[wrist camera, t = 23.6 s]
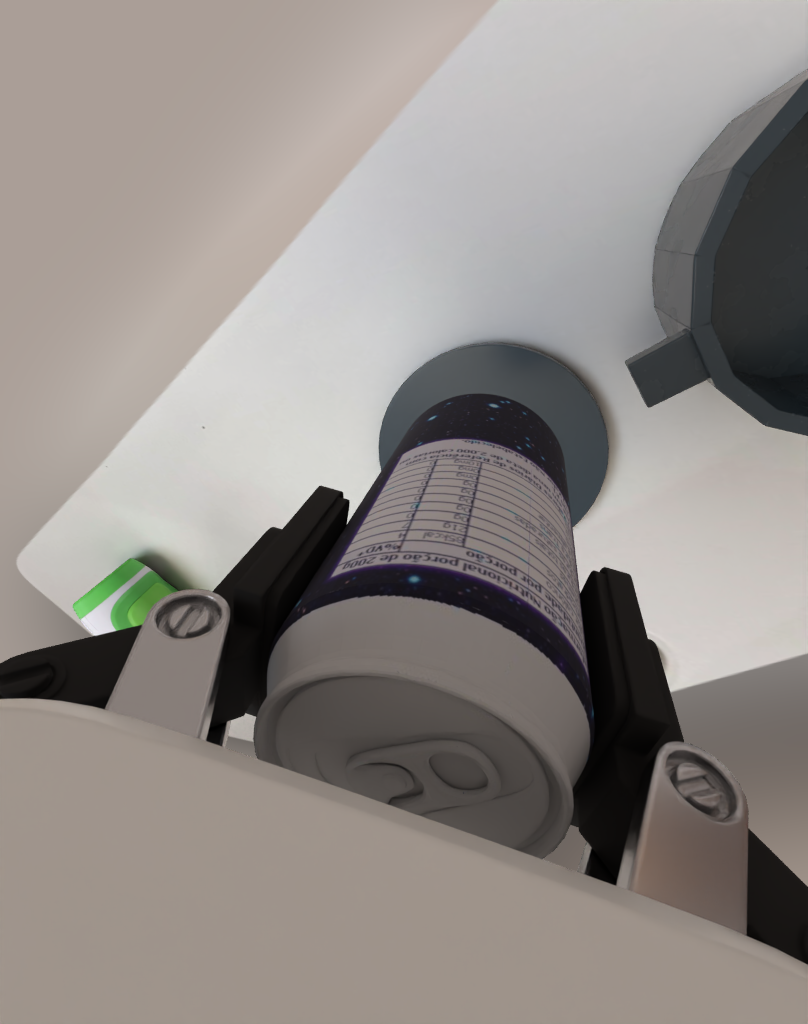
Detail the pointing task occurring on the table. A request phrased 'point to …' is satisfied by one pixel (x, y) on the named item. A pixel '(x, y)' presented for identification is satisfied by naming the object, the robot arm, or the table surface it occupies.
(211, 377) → the table surface
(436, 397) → the pot lid
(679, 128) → the table surface
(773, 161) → the pot
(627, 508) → the table surface
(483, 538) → the beverage can
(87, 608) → the speaker
